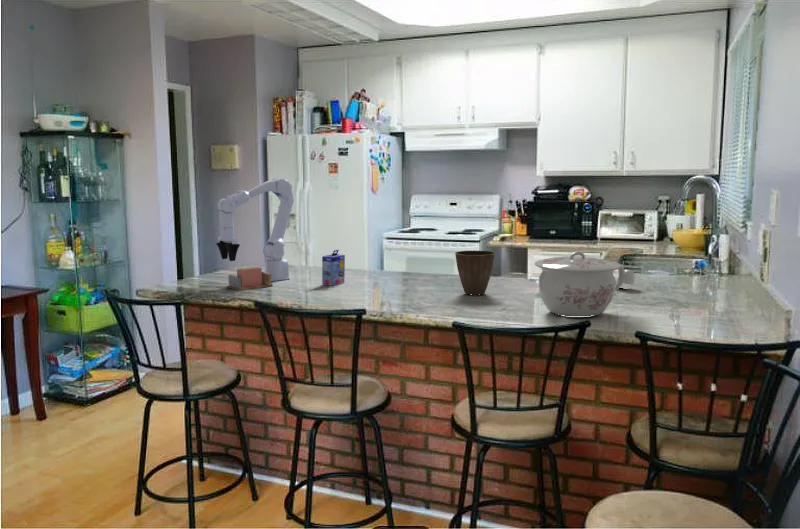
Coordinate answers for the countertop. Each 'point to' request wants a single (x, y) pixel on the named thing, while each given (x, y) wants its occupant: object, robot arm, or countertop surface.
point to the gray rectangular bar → (235, 281)
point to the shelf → (265, 283)
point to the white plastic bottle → (628, 276)
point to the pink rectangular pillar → (250, 276)
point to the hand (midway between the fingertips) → (228, 259)
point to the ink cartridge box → (333, 269)
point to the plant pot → (474, 270)
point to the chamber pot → (578, 284)
